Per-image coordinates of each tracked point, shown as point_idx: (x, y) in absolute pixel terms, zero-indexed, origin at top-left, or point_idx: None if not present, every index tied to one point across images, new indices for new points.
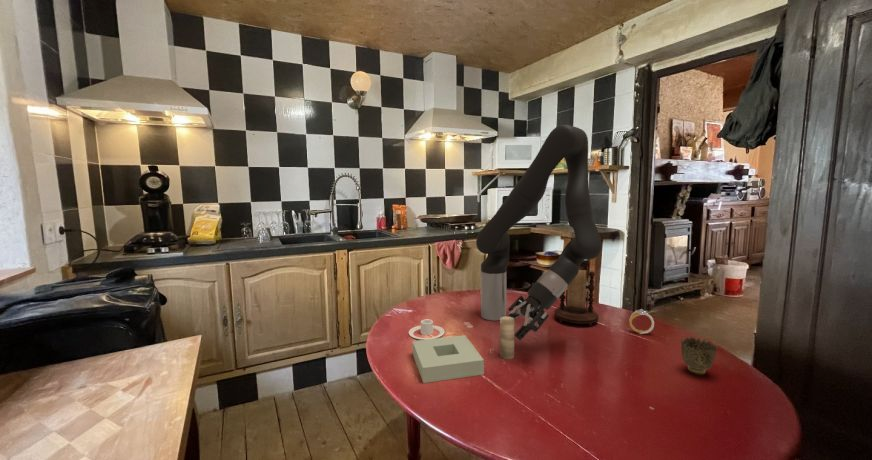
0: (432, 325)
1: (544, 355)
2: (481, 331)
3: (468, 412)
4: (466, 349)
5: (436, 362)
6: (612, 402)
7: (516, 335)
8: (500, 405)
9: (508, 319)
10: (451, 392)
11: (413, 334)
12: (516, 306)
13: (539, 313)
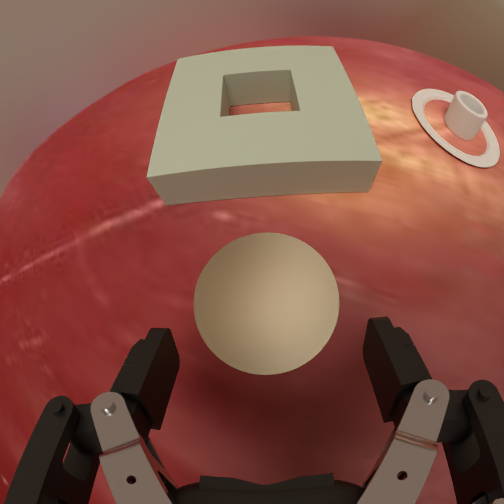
0: (467, 119)
1: (240, 479)
2: (491, 290)
3: (68, 155)
4: (244, 137)
5: (189, 74)
6: (10, 442)
7: (151, 333)
8: (52, 213)
9: (248, 308)
10: (130, 128)
11: (440, 99)
12: (429, 463)
13: (17, 501)
